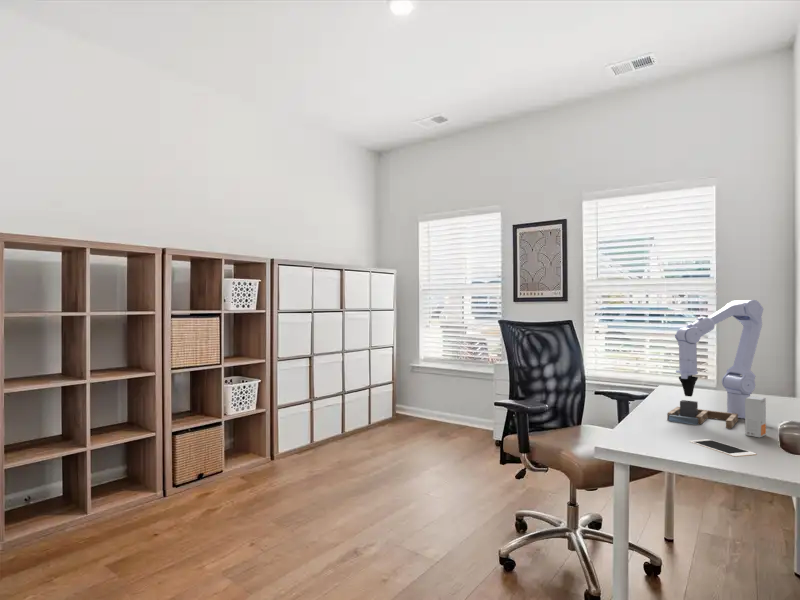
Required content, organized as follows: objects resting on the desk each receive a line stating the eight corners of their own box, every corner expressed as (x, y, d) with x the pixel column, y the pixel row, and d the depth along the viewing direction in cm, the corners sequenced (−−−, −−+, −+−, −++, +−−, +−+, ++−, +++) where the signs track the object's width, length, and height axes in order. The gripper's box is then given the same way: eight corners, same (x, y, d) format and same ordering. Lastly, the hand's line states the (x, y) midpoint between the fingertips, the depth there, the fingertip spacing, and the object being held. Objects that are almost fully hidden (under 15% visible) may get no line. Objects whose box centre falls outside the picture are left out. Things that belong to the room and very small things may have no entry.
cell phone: (734, 458, 134) (734, 455, 134) (688, 442, 150) (687, 440, 150) (757, 456, 136) (757, 453, 136) (709, 440, 152) (709, 438, 152)
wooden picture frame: (677, 413, 190) (677, 406, 190) (737, 420, 177) (737, 413, 177) (666, 420, 177) (666, 413, 177) (730, 429, 164) (730, 421, 164)
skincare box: (761, 438, 153) (760, 399, 154) (745, 435, 157) (744, 398, 157) (766, 434, 157) (766, 397, 157) (750, 432, 161) (750, 395, 161)
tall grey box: (682, 416, 183) (682, 400, 183) (697, 418, 180) (697, 401, 180) (680, 417, 180) (679, 401, 180) (695, 419, 177) (695, 403, 177)
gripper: (680, 357, 191) (680, 392, 190) (671, 360, 180) (672, 397, 179) (701, 358, 186) (701, 394, 186) (693, 361, 175) (694, 399, 175)
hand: (688, 396), depth 182 cm, fingers closed
